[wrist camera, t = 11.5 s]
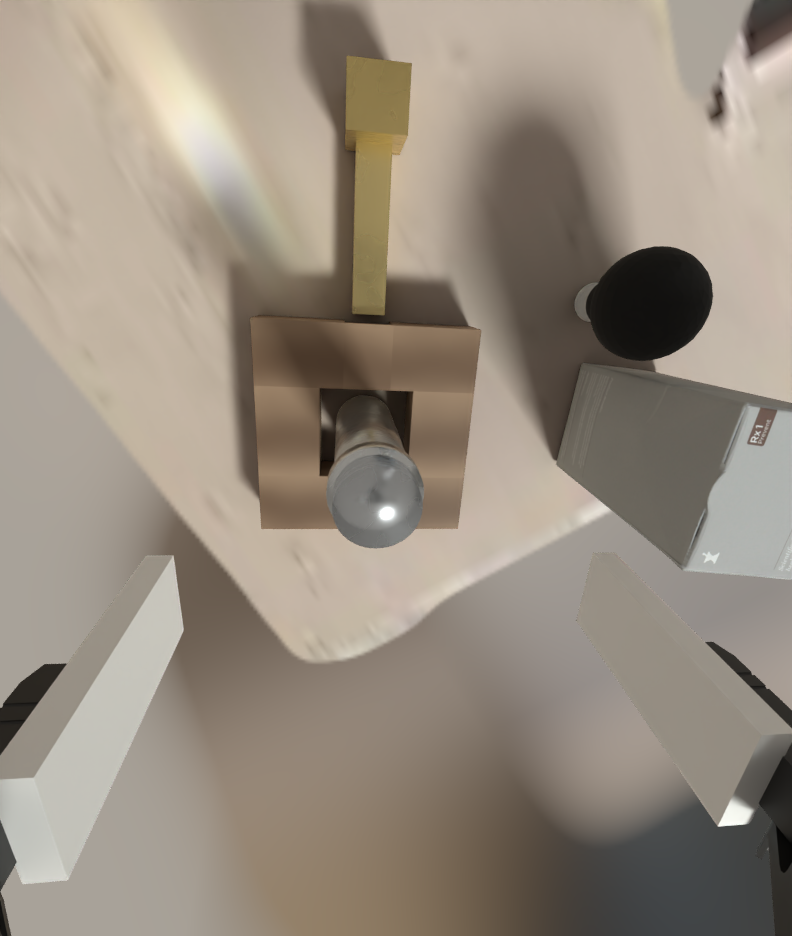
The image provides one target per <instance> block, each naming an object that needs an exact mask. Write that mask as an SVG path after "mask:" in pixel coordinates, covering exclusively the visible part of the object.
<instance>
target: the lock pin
mask: <svg viewBox="0 0 792 936" xmlns="http://www.w3.org/2000/svg"><path fill="white" fill-rule="evenodd" d="M411 67H412V63H404V62H396V61H388V60H380V59H372V58H363V57H355V56H347V62H346V125H345V150H352V151H355V193H354V239H353V285H352V314H368V315H385V295H386V273H387V251H388V229H389V207H390V185H391V164H392V154H393V155H400V152H401V150H402V148H403V145H404V143H405V141H406V138H407V136H408V121H409V103H410V85H411Z"/></svg>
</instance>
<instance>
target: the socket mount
mask: <svg viewBox="0 0 792 936" xmlns="http://www.w3.org/2000/svg"><path fill="white" fill-rule="evenodd" d="M250 325H251V344H252V363H253V382H254V400H255V419H256V438H257V457H258V475H259V494H260V513H261V529H338V528H337V526H336V524H335V522H334V519H333V516H332V514H331V512H330V510H329V507H328V504H327V498H326V491H327V479H328V475H329V472H330V469H331V467H332V465H333V464H334V461H321V388H332V389H361V390H390V391H407V396H406V411H405V427H404V442H403V448H404V450H405V452H406V453H407V454H408V455H409V456H410V457H411V458H412V459H413V461H414V462H415V464H416V466H417V468H418V470H419V473H420V475H421V477H422V481H423V485H424V498H423V510H422V515H421V519H420V521H419V523H418V525H417V527H416V528H415V529H458V523H459V514H460V506H461V497H462V489H463V480H464V472H465V463H466V455H467V447H468V438H469V430H470V421H471V413H472V404H473V396H474V387H475V379H476V371H477V362H478V354H479V345H480V337H481V330H480V329H476V328H473V327H470V326H455V325H436V324H417V323H398V322H389V324H370V323H350V322H344V320H341V319H322V318H303V317H284V316H265V315H258V316H255V317H252V318H250Z"/></svg>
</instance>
